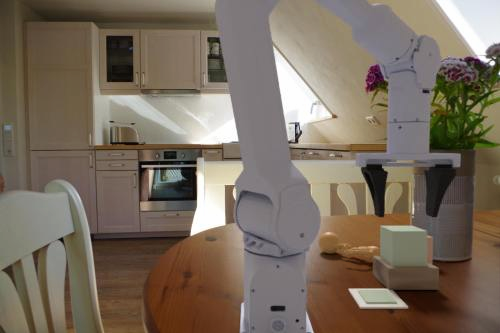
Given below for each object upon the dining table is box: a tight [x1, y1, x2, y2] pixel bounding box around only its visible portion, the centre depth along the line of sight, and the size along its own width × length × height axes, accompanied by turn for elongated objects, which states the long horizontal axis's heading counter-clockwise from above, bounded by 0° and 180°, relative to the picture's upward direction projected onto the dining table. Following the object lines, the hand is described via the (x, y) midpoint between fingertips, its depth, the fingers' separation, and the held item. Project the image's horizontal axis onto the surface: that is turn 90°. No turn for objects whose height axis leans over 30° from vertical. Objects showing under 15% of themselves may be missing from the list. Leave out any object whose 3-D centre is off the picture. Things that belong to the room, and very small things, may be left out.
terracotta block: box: [427, 234, 434, 265], centre depth 68 cm, size 5×5×5 cm
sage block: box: [379, 225, 428, 266], centre depth 58 cm, size 5×5×5 cm
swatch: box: [348, 288, 409, 310], centre depth 52 cm, size 6×6×1 cm
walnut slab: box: [372, 256, 440, 291], centre depth 58 cm, size 7×7×3 cm
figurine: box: [318, 231, 380, 262], centre depth 70 cm, size 8×6×12 cm
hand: (405, 216), depth 57 cm, fingers open, 7 cm apart
